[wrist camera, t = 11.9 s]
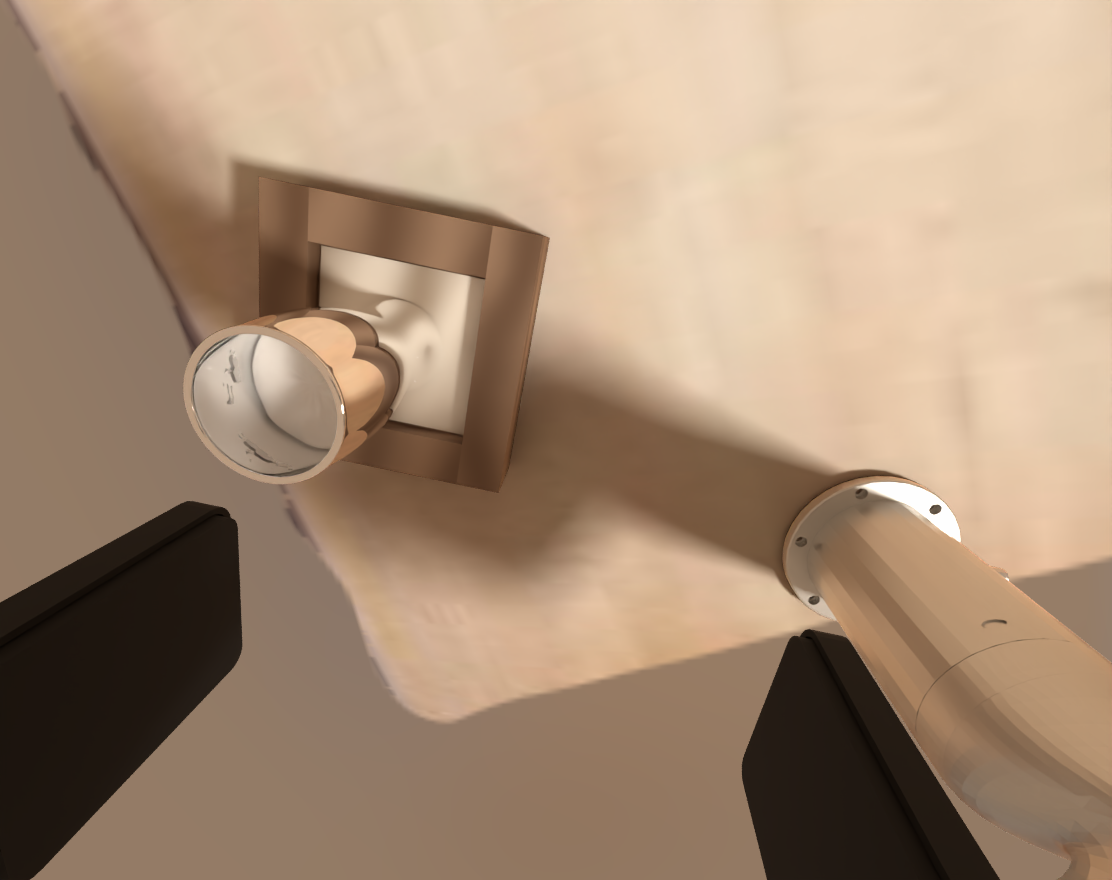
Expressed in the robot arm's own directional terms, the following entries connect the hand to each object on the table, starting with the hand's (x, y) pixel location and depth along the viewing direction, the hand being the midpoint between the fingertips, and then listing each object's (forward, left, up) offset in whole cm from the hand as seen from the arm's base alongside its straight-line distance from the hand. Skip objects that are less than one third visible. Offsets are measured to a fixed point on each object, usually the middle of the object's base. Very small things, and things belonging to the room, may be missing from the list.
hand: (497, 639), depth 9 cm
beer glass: (+11, +2, -27) cm, 29 cm away
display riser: (+11, +2, -30) cm, 32 cm away
